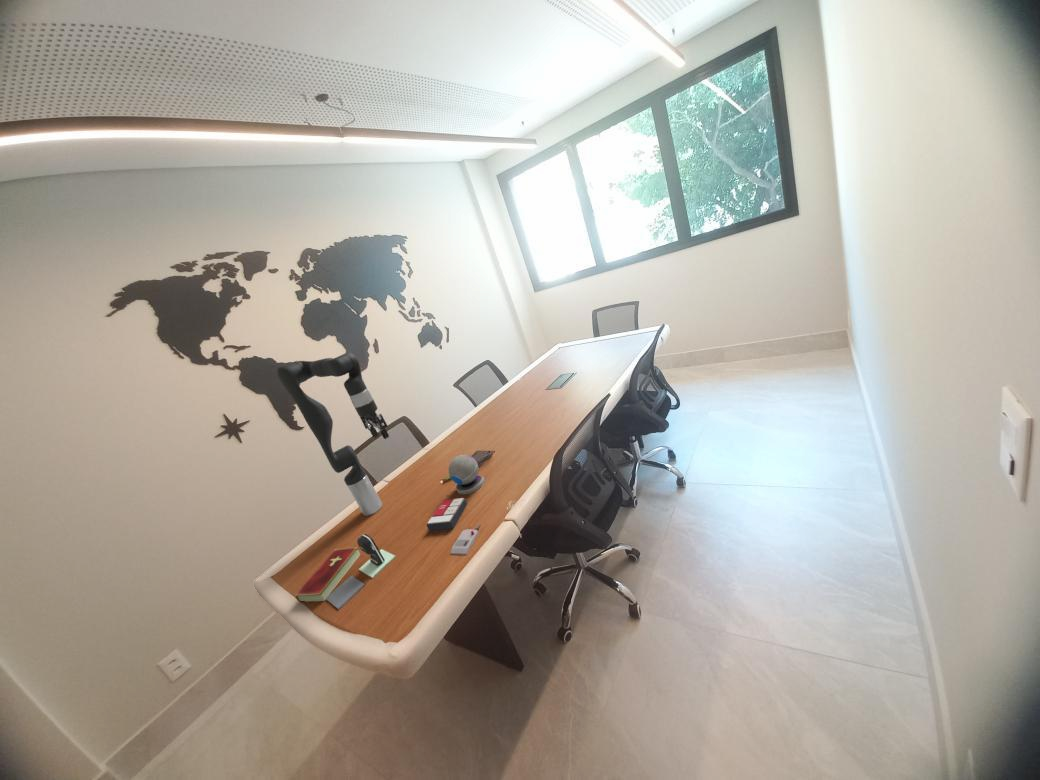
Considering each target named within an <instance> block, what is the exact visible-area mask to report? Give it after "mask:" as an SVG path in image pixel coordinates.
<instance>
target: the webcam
mask: <svg viewBox="0 0 1040 780" xmlns="http://www.w3.org/2000/svg"><path fill="white" fill-rule="evenodd" d="M479 470H480V468H479V465H478V462H477V460H476V459H475V457H473V456H471V455H469V454H465V453H464V454H459V455H457V456H455V457H454V458H452V460H451V462H450V463H449V466H448V475H449V477H450V479H451V480H452V481H453V482H454V484H456V487H455V489H456V492H457V494H458V495H464V496H465V495H468V494H469V495H470V494H472V493H474V492H476V491H478V490H479V489H480V488H481V487H482V486H483V485H484V483H485V478H484V476H481V475H478V474H479Z"/></svg>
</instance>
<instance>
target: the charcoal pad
mask: <svg viewBox="0 0 1040 780" xmlns="http://www.w3.org/2000/svg"><path fill="white" fill-rule="evenodd" d="M365 586H366V584H365V582H364V583H363V582H362V581H360V580H359V579H357V578H356V577H354V576H353V575H351V576H350V577H348V578H347V579H346V580H345V581H343V582H342V583H341V584H339V586H338V587H337V588H336V589H334V590H333V591H332V592H331V593H330V594H329V596H328V597H327V598H326V599H325V601H328V602H329V603H330V604H332V605H333V607H335V608H336V609H338V610H340V609H342V608H343V606H345V605H346V603H348V602H349V601H350V600H351V599H352V598H353V597H354V596H355V595H356V594H358V593H359V592H360V590H362V589H363V588H364V587H365Z"/></svg>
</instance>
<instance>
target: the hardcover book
mask: <svg viewBox="0 0 1040 780" xmlns="http://www.w3.org/2000/svg"><path fill="white" fill-rule="evenodd" d="M358 549H359V546H356V547H355V546H353V547H344V548H335V549H334V550H333V551H332V553H330V555H329V556H328V557H326V559H325V560H324V561H323V563H322V564H321V565H320V566H319V567H318V569H316V570H315V572H314V573H313V574H312V575H311V576H310V578H308V580H307V581H306V583H304V584H303V586H302V587H301V588H300V589H299V590H298V591H297V593H296V594H295V595H294V597H295V599H296V600H297V602H300V601H305V602H325V601H326V598H327V597H328V596H329V595H330V594H331V593H332V592H333V591H334V590H335V588H336V586H338V584H339V583H340V581H341V580H342V579H343V578H344V576H345V575H346V574H347V573H348V571H349V570H350V568H351V567H352V566H353V565H354V564H355V562H356V561H357V560H358V558H359V557H360V556H361V553H360V552H359V550H358ZM300 603H301V602H300Z"/></svg>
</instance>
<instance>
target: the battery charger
mask: <svg viewBox="0 0 1040 780" xmlns="http://www.w3.org/2000/svg"><path fill="white" fill-rule="evenodd" d="M356 541H357V545H358V548H360V550H361V551H362V552H363V553H365V554H366V555H369V556H370V559H369V560H370V561H371V562H372V563H373V564H375V565H376V566H378V565H380V564H381V563H383V562H384V561H385V559H384V558H383V556H382V554H381V553H380V549H379V548H378V546H377V543H376V542H375V540H374V539H373V538H372V537H371V536H370V535H369V534H366V533H363V534H362V535H361V536H360V537H358V539H357V540H356Z"/></svg>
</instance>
